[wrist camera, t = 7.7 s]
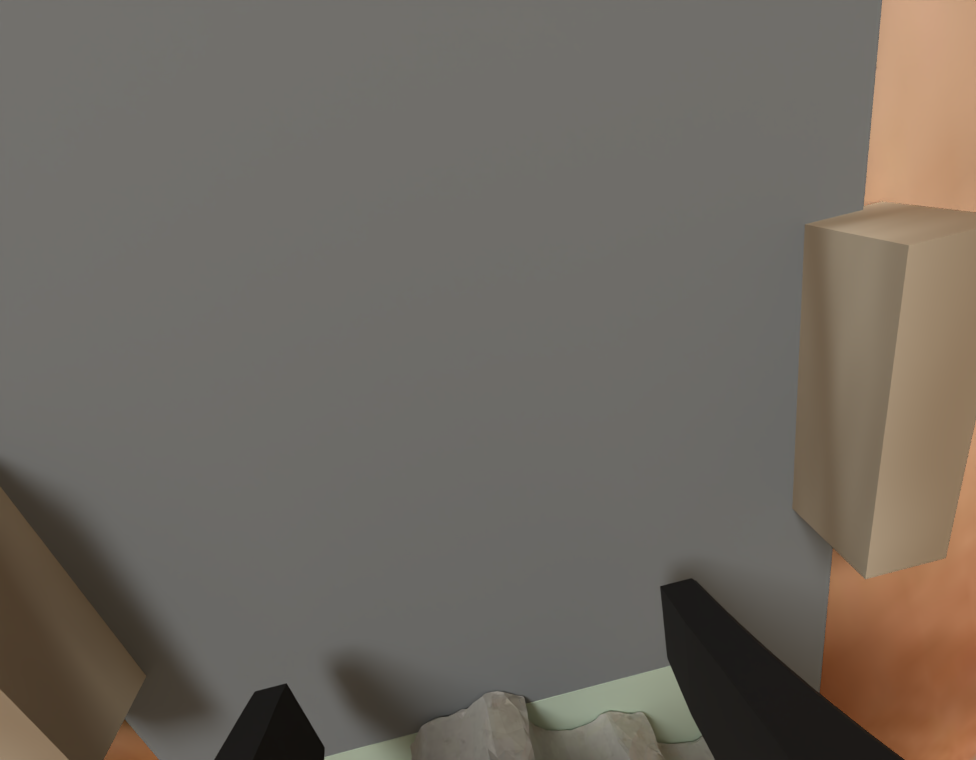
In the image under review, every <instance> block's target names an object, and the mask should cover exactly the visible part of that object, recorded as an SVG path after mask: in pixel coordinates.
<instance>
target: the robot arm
mask: <svg viewBox="0 0 976 760" xmlns="http://www.w3.org/2000/svg"><path fill="white" fill-rule="evenodd" d="M660 591H661V601H662V611H663V621H664V631H665V641H666V651H667V658H668V661H669V663H670V666H671V668H672V671H673V673H674V675H675V678H676V680H677V683H678V685H679V687H680V690H681V692H682V694H683V697H684V699H685V701H686V704H687V706H688V708H689V711H690V713H691V715H692V717H693V719H694V721H695V723H696V725H697V727H698V729H699V731H700V733H701V734H702V736H703V738H704V740H705V742H706V744H707V746H708V748H709V750H710V751H711V753H712V755H713V757H714V759H715V760H904V759H903V758H902V757H900V756H899V755H898V754H896V753H895V752H894V751H892V750H891V749H890V748H888V747H887V746H886V745H884V744H883V743H882V742H880V741H879V740H878V739H876V738H875V737H874V736H873V735H871V734H870V733H869V732H867V731H866V730H865V729H863V728H862V727H861V726H860V725H858V724H857V723H856V722H855V721H853V720H852V719H851V718H850V717H848V716H847V715H846V714H845V713H843V712H842V711H841V710H839V709H838V708H837V707H836V706H834V705H833V704H832V703H831V702H830V701H828V700H827V699H826V698H825V697H823V696H822V695H821V694H820V693H819V692H817V691H816V690H815V689H814V688H813V687H811V686H810V685H809V684H808V683H807V682H805V681H804V680H803V679H802V678H801V677H800V676H798V675H797V674H796V673H795V672H794V671H793V670H792V669H790V668H789V667H788V666H787V665H786V664H785V663H783V662H782V661H781V660H780V659H779V658H778V657H776V656H775V655H774V654H773V653H772V652H771V651H770V650H768V649H767V648H766V647H765V646H764V645H763V644H762V643H761V642H760V641H758V640H757V639H756V638H755V637H754V636H753V635H752V634H751V633H750V632H749V631H748V630H747V629H745V628H744V627H743V626H742V625H741V624H740V623H739V622H738V621H737V620H736V619H735V618H734V617H733V616H732V615H731V614H729V613H728V612H727V611H726V610H725V609H724V608H723V607H722V606H721V605H720V604H719V603H718V602H717V601H716V600H715V599H714V598H713V597H712V596H711V595H710V594H709V593H708V592H707V591H706V590H705V589H704V588H703V587H702V586H701V585H700V584H699V583H698V582H697V581H696V580H694V579H692V578H690V579H686V580H682V581H678V582H674V583H670V584H667V585H663V586H660ZM324 754H325V747H324V745H323V744H322V742H321V740H320V739H319V737H318V735H317V733H316V732H315V730H314V728H313V727H312V725H311V723H310V722H309V720H308V718H307V717H306V715H305V713H304V712H303V710H302V708H301V706H300V705H299V703H298V701H297V700H296V698H295V696H294V695H293V693H292V691H291V690H290V688H289V686H288V685H287V683H285V684H282V685H278V686H274V687H270V688H266V689H262V690H258V691H255V692H254V693H253V695H252V697H251V698H250V700H249V701H248V703H247V705H246V706H245V708H244V710H243V711H242V713H241V715H240V716H239V718H238V720H237V722H236V723H235V725H234V727H233V728H232V730H231V732H230V733H229V735H228V737H227V739H226V740H225V742H224V744H223V745H222V747H221V749H220V750H219V752H218V754H217V756H216V757H215V759H214V760H324Z"/></svg>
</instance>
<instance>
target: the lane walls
mask: <svg viewBox="0 0 976 760" xmlns="http://www.w3.org/2000/svg"><path fill="white" fill-rule="evenodd" d="M975 421H976V212H968V211H960V210H951V209H943V208H934V207H926V206H917V205H909V204H900V203H892V202H883V201H882V202H878V203H874V204H870V205H866V206H863V210H860V211H856V212H852V213H848V214H844V215H840V216H836V217H832V218H828V219H824V220H820V221H816V222H812V223H808V224H805V231H804V254H803V277H802V299H801V322H800V345H799V367H798V390H797V413H796V436H795V458H794V481H793V504H792V509H793V510H794V511H796V512H797V513H798V514H799V515H800V516H801V517H802V518H803V519H804V520H805V521H806V522H807V523H808V524H809V525H810V526H811V527H812V528H813V529H814V530H815V531H816V532H817V533H818V534H819V535H820V536H821V537H822V538H823V539H824V540H825V541H826V542H828V543H829V544H830V545H831V546H832V547H833V548H834V549H835V550H836V551H837V552H838V553H839V554H840V555H841V556H842V557H843V558H844V559H845V560H846V561H847V562H848V563H849V564H850V565H851V566H852V567H853V568H854V569H855V570H856V571H857V572H858V573H859V574H861V575H862V576H863V577H864V578H865V579H868V578H872V577H876V576H880V575H883V574H887V573H891V572H895V571H899V570H902V569H906V568H910V567H914V566H918V565H921V564H925V563H929V562H933V561H937V560H940V559H944V558H946V555H947V550H948V545H949V541H950V536H951V532H952V527H953V522H954V518H955V513H956V509H957V504H958V499H959V495H960V490H961V485H962V481H963V476H964V472H965V467H966V462H967V458H968V453H969V449H970V444H971V439H972V435H973V430H974V425H975ZM145 678H146V675H145V674H144V672H143V671H142V670H141V668H140V667H139V666H138V665H137V663H136V662H135V661H134V659H133V658H132V657H131V655H130V654H129V653H128V652H127V650H126V649H125V648H124V646H123V645H122V644H121V643H120V641H119V640H118V639H117V637H116V636H115V635H114V633H113V632H112V631H111V630H110V628H109V627H108V626H107V624H106V623H105V622H104V620H103V619H102V618H101V617H100V615H99V614H98V613H97V611H96V610H95V609H94V607H93V606H92V605H91V604H90V602H89V601H88V600H87V598H86V597H85V596H84V595H83V593H82V592H81V591H80V589H79V588H78V587H77V585H76V584H75V583H74V582H73V580H72V579H71V578H70V576H69V575H68V574H67V572H66V571H65V570H64V569H63V567H62V566H61V565H60V563H59V562H58V561H57V559H56V558H55V557H54V556H53V554H52V553H51V552H50V550H49V549H48V548H47V546H46V545H45V544H44V543H43V541H42V540H41V539H40V537H39V536H38V535H37V534H36V532H35V531H34V530H33V528H32V527H31V526H30V524H29V523H28V522H27V521H26V519H25V518H24V517H23V515H22V514H21V513H20V511H19V510H18V509H17V508H16V506H15V505H14V504H13V502H12V501H11V500H10V498H9V497H8V496H7V495H6V493H5V492H4V491H3V489H2V488H1V487H0V760H103V759H104V757H105V755H106V754H107V752H108V750H109V748H110V746H111V744H112V742H113V740H114V738H115V736H116V734H117V732H118V730H119V728H120V726H121V724H122V722H123V721H124V719H125V717H126V715H127V713H128V711H129V709H130V707H131V705H132V703H133V701H134V699H135V697H136V695H137V693H138V691H139V689H140V688H141V686H142V684H143V682H144V680H145Z"/></svg>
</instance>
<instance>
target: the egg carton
mask: <svg viewBox="0 0 976 760" xmlns="http://www.w3.org/2000/svg"><path fill="white" fill-rule="evenodd" d="M410 748H411V754H412V760H715V759H714V757H713V755H712V753H711V751H710V750H709V748H708V746H707V744H706V742H705V740H704V738H703V736H701V737H700V738H699V739H697V740H695V741H692V742H685V743H678V744H666V743H658V742H657V741H656V737H655V734H654V732H653V729H652V727H651V725H650V723H649V721H648V719H647V717H646V716H645V714H644V713H641V712H637V713H633V714H625V713H621V712H612V711H609V712H606V713H603V714H600V715H599V716H598V717H597V718H596V719H595V720H594V721H593V722H591V723H589V724H586V725H583V726H581V727H578V728H575V729H573V730H562V731H558V730H555V731H554V730H545V729H543V728H540V727H538V726H535V725H534V724H533V723H531V722H530V721H529V720H528V713H527V708H526V703H525V698H524V697H523V696H517V695H513V694H509V693H505V692H500V691H495V692H489V693H485V694H484V695H483V696H482V697H481V698H479V699H478V700H476V701H475V702H474V703H472V705H471V706H470V707H469V708H468V709H461V710H459V711H457V712H455V713H453V714H451V715H449V716H446V717H439V718H435V719H432V720H431V721H429V722H427V723H426V724H424V725H423V726H422V727H421V728H420V730H419V732H418V733H417V735H416V738H415V741H414V742H413V743H412V744H411V745H410Z"/></svg>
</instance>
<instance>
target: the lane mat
mask: <svg viewBox="0 0 976 760" xmlns="http://www.w3.org/2000/svg"><path fill="white" fill-rule="evenodd" d="M881 6H882V0H0V487H1V488H2V489H3V491H4V492H5V493H6V495H7V496H8V497H9V498H10V500H11V501H12V502H13V504H14V505H15V506H16V508H17V509H18V510H19V511H20V513H21V514H22V515H23V517H24V518H25V519H26V521H27V522H28V523H29V524H30V526H31V527H32V528H33V530H34V531H35V532H36V534H37V535H38V536H39V537H40V539H41V540H42V541H43V543H44V544H45V545H46V546H47V548H48V549H49V550H50V552H51V553H52V554H53V556H54V557H55V558H56V559H57V561H58V562H59V563H60V565H61V566H62V567H63V569H64V570H65V571H66V572H67V574H68V575H69V576H70V578H71V579H72V580H73V582H74V583H75V584H76V585H77V587H78V588H79V589H80V591H81V592H82V593H83V595H84V596H85V597H86V598H87V600H88V601H89V602H90V604H91V605H92V606H93V607H94V609H95V610H96V611H97V613H98V614H99V615H100V617H101V618H102V619H103V620H104V622H105V623H106V624H107V626H108V627H109V628H110V630H111V631H112V632H113V633H114V635H115V636H116V637H117V639H118V640H119V641H120V643H121V644H122V645H123V646H124V648H125V649H126V650H127V652H128V653H129V654H130V655H131V657H132V658H133V659H134V661H135V662H136V663H137V665H138V666H139V667H140V668H141V670H142V671H143V672H144V674H145V675H146V678H145V680H144V682H143V684H142V686H141V688H140V689H139V691H138V693H137V695H136V697H135V699H134V701H133V703H132V705H131V707H130V709H129V711H128V713H127V715H126V717H125V720H126V721H127V722H128V723H129V724H130V726H131V727H132V728H133V729H134V730H135V732H136V733H137V734H138V735H139V736H140V737H141V739H142V740H143V741H144V742H145V743H146V745H147V746H148V747H149V748H150V749H151V751H152V752H153V753H154V754H155V755H156V756H157V758H158V759H159V760H214V759H215V757H216V756H217V754H218V752H219V750H220V749H221V747H222V745H223V744H224V742H225V740H226V739H227V737H228V735H229V733H230V732H231V730H232V728H233V727H234V725H235V723H236V722H237V720H238V718H239V716H240V715H241V713H242V711H243V710H244V708H245V706H246V705H247V703H248V701H249V700H250V698H251V697H252V695H253V693H254V692H255V691H258V690H262V689H266V688H270V687H274V686H278V685H282V684H285V683H287V685H288V686H289V688H290V690H291V691H292V693H293V695H294V696H295V698H296V700H297V701H298V703H299V705H300V706H301V708H302V710H303V712H304V713H305V715H306V717H307V718H308V720H309V722H310V723H311V725H312V727H313V728H314V730H315V732H316V733H317V735H318V737H319V739H320V740H321V742H322V744H323V745H324V747H325V754H324V760H412V754H411V748H410V745H411V744H412V743H413V742H414V741H415V738H416V735H417V733H418V732H419V730H420V728H421V727H422V726H423V725H424V724H426V723H427V722H429V721H431V720H432V719H435V718H439V717H446V716H449V715H451V714H453V713H455V712H457V711H459V710H461V709H468V708H469V707H470V706H471V705H472V703H474V702H475V701H476V700H478V699H479V698H481V697H482V696H483V695H484V694H485V693H489V692H495V691H500V692H505V693H509V694H513V695H517V696H523V697H524V698H525V703H526V708H527V713H528V720H529V721H530V722H531V723H533V724H534V725H535V726H538V727H540V728H543V729H545V730H554V731H555V730H558V731H562V730H573V729H575V728H578V727H581V726H583V725H586V724H589V723H591V722H593V721H594V720H595V719H596V718H597V717H598V716H599V715H600V714H603V713H606V712H609V711H612V712H621V713H625V714H633V713H637V712H641V713H644V714H645V716H646V717H647V719H648V721H649V723H650V725H651V727H652V729H653V732H654V734H655V737H656V741H657V742H658V743H666V744H678V743H685V742H692V741H695V740H697V739H699V738H700V737H701V736H702V734H701V733H700V731H699V729H698V727H697V725H696V723H695V721H694V719H693V717H692V715H691V713H690V711H689V708H688V706H687V704H686V701H685V699H684V697H683V694H682V692H681V690H680V687H679V685H678V683H677V680H676V678H675V675H674V673H673V671H672V668H671V666H670V663H669V661H668V658H667V651H666V641H665V631H664V621H663V611H662V601H661V591H660V586H663V585H667V584H670V583H674V582H678V581H682V580H686V579H690V578H692V579H694V580H696V581H697V582H698V583H699V584H700V585H701V586H702V587H703V588H704V589H705V590H706V591H707V592H708V593H709V594H710V595H711V596H712V597H713V598H714V599H715V600H716V601H717V602H718V603H719V604H720V605H721V606H722V607H723V608H724V609H725V610H726V611H727V612H728V613H729V614H731V615H732V616H733V617H734V618H735V619H736V620H737V621H738V622H739V623H740V624H741V625H742V626H743V627H744V628H745V629H747V630H748V631H749V632H750V633H751V634H752V635H753V636H754V637H755V638H756V639H757V640H758V641H760V642H761V643H762V644H763V645H764V646H765V647H766V648H767V649H768V650H770V651H771V652H772V653H773V654H774V655H775V656H776V657H778V658H779V659H780V660H781V661H782V662H783V663H785V664H786V665H787V666H788V667H789V668H790V669H792V670H793V671H794V672H795V673H796V674H797V675H798V676H800V677H801V678H802V679H803V680H804V681H805V682H807V683H808V684H809V685H810V686H811V687H813V688H814V689H815V690H816V691H817V692H819V693H820V683H821V672H822V660H823V649H824V638H825V627H826V616H827V605H828V594H829V583H830V572H831V561H832V550H833V547H832V546H831V545H830V544H829V543H828V542H826V541H825V540H824V539H823V538H822V537H821V536H820V535H819V534H818V533H817V532H816V531H815V530H814V529H813V528H812V527H811V526H810V525H809V524H808V523H807V522H806V521H805V520H804V519H803V518H802V517H801V516H800V515H799V514H798V513H797V512H796V511H794V510H793V509H792V504H793V481H794V458H795V436H796V413H797V390H798V367H799V345H800V322H801V299H802V277H803V254H804V231H805V224H808V223H812V222H816V221H820V220H824V219H828V218H832V217H836V216H840V215H844V214H848V213H852V212H856V211H860V210H863V206H864V195H865V184H866V173H867V162H868V151H869V139H870V128H871V117H872V106H873V95H874V84H875V73H876V62H877V51H878V40H879V29H880V18H881Z"/></svg>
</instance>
